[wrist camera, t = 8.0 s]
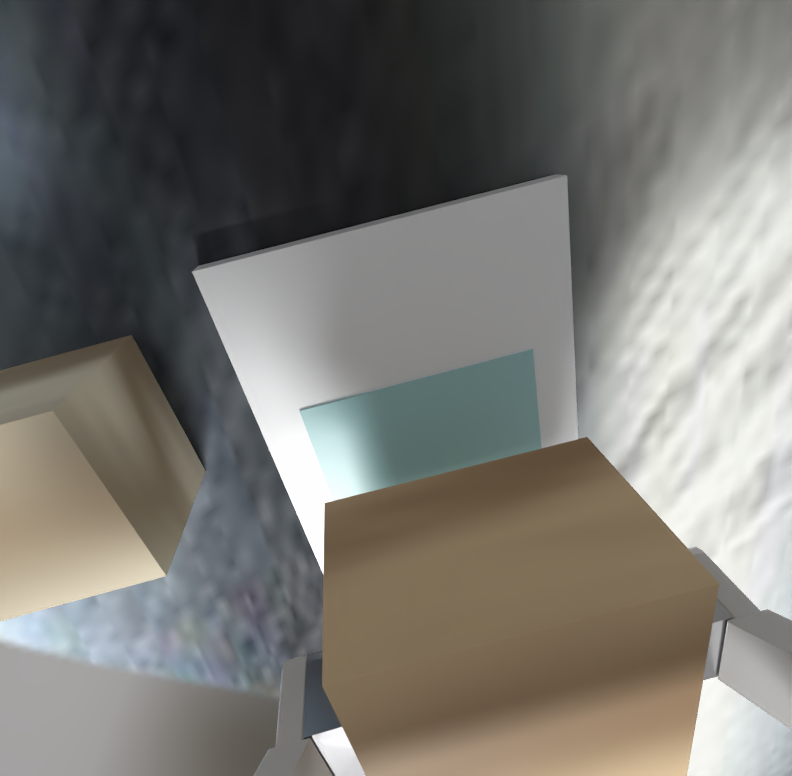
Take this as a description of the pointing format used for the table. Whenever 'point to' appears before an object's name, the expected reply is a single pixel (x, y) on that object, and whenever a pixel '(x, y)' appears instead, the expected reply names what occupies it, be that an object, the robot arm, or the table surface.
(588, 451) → the oak block
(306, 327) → the plate
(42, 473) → the maple block
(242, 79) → the table surface
